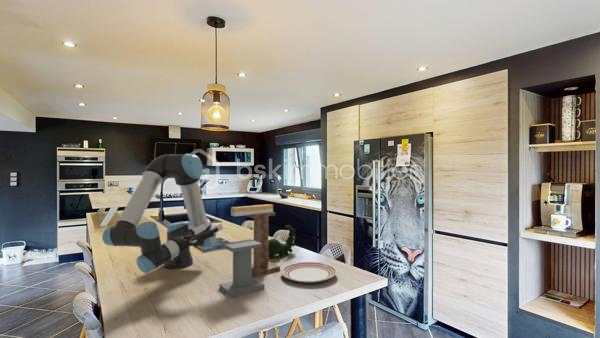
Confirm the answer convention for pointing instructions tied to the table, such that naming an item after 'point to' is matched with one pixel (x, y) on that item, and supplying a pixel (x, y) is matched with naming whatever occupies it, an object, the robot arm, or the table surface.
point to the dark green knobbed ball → (280, 248)
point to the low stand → (241, 269)
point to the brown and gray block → (251, 210)
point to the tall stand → (261, 253)
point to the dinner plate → (308, 272)
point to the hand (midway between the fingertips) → (213, 226)
